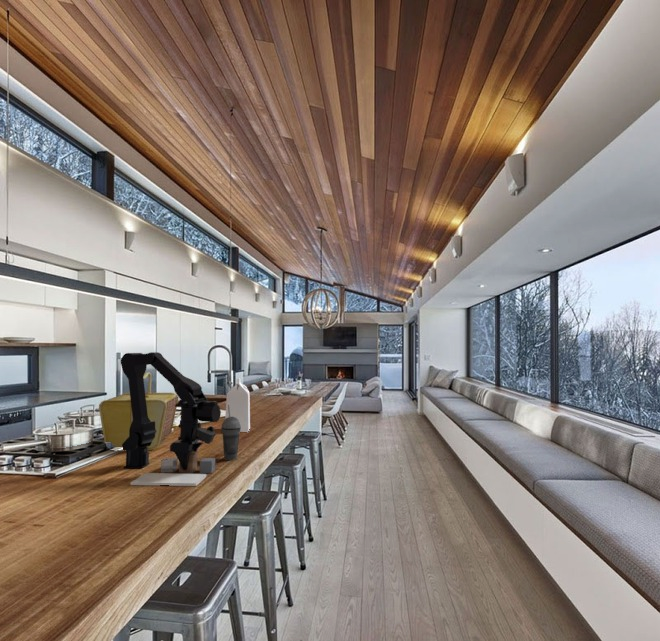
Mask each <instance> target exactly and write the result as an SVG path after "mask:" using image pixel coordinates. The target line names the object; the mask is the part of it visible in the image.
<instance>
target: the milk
mask: <svg viewBox="0 0 660 641" xmlns="http://www.w3.org/2000/svg"><path fill="white" fill-rule="evenodd" d="M250 394H251V392H250V391H249V389H248V387H247V386H246V385H245V384H243V383H242V381H241V377H236V384H235V385H234V386H233V387H232V388H231V389H230V390H229V391H228V392H227V393H226V400H225V418H224V420H225V419H226V418H228V417H229V411H228V405H229V407H230V417H235V418H237V419H238V420H239V422H240V425H241V429H240V432H247V433H249V432H250V430H251V404H250V401H251V400H250V398H251V397H250ZM249 429H250V430H249ZM248 431H249V432H248Z"/></svg>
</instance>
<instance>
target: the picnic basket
mask: <svg viewBox="0 0 660 641" xmlns="http://www.w3.org/2000/svg"><path fill="white" fill-rule="evenodd" d="M147 378H148V382H147V385H148V386H147V392H145V396H146V405H147V414H148V418H149V419H150V421H151V422H152V421H155V429H156V431H157V432H156V433H155V438H154V439H153V441H152V443H151V446H148V451H153V450H155V449H157V448H158V447H159V446H160V444H161V442H162V441H164V440H165V438H168V437H169V436H170V435H171V433H172V430H173V426H174V421H175V417H176V411H177V408H178V407H175V405H176V404H177V403H178V402H179V397H178V395H177V394H176V393H175V392H152V373H151V372H148V371H147V372H145V374H144V376H143V379H144V380H146V379H147ZM98 412H99V416H100V418H99V419H100V423H101V430H102V435H103V440H104V443H105V442H112V444H113V446H115V447H122V444H123V443H124V442H125V440H126V439H127V438H128V437H129V428H130V426H131V423H132V421H133V417H132V408H131V399H130V392H124V393H122V394H120V395H117V396H115V397H111V398H108V399H106V400H105V399H104V400H103V401H100V403H99V405H98Z"/></svg>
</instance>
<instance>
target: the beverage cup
mask: <svg viewBox="0 0 660 641" xmlns="http://www.w3.org/2000/svg"><path fill="white" fill-rule="evenodd" d="M228 411H229V417H228V418H226V419H225V418H224V420H223V421H222V424H221V428H220V429H221V433H222V445H223V456H224V458H223V459H226V460H225V461H229V460H230V461H234V460H233V459H236V458H238V453H239V451H238V450H239V442H240V434H241V433H240V429H241V425H240V422H239V420H238V419H237V418H235V417H230V407H229V405H228ZM236 460H237V459H236Z"/></svg>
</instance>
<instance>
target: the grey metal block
mask: <svg viewBox="0 0 660 641" xmlns="http://www.w3.org/2000/svg"><path fill="white" fill-rule="evenodd" d="M160 462H161V464H160V473H164V472H173V473H174V472H176V471H177V470H178V458H177V457H165V458H163V459H162V460H161V461H160Z"/></svg>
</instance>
